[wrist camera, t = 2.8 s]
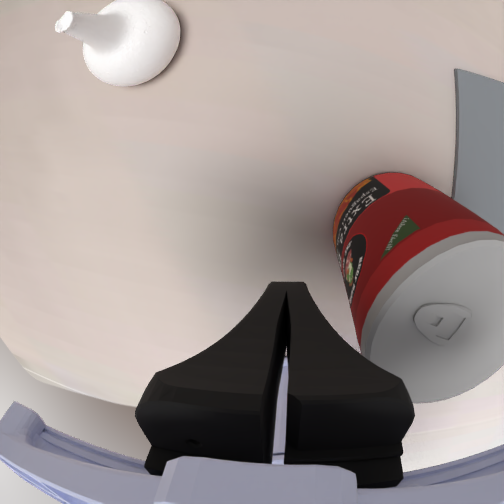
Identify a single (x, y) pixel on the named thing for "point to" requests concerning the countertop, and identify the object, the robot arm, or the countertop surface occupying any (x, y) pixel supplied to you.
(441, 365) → the canned food
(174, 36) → the garlic bulb
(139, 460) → the robot arm
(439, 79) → the countertop surface
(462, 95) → the slate mat
